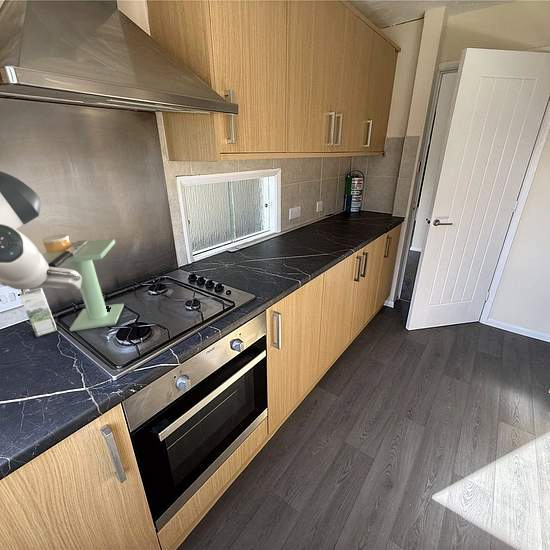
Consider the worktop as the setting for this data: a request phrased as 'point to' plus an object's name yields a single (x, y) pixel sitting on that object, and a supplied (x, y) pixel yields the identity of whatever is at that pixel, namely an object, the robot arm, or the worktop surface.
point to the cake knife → (68, 253)
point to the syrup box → (38, 311)
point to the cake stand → (86, 280)
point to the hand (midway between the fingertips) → (38, 283)
